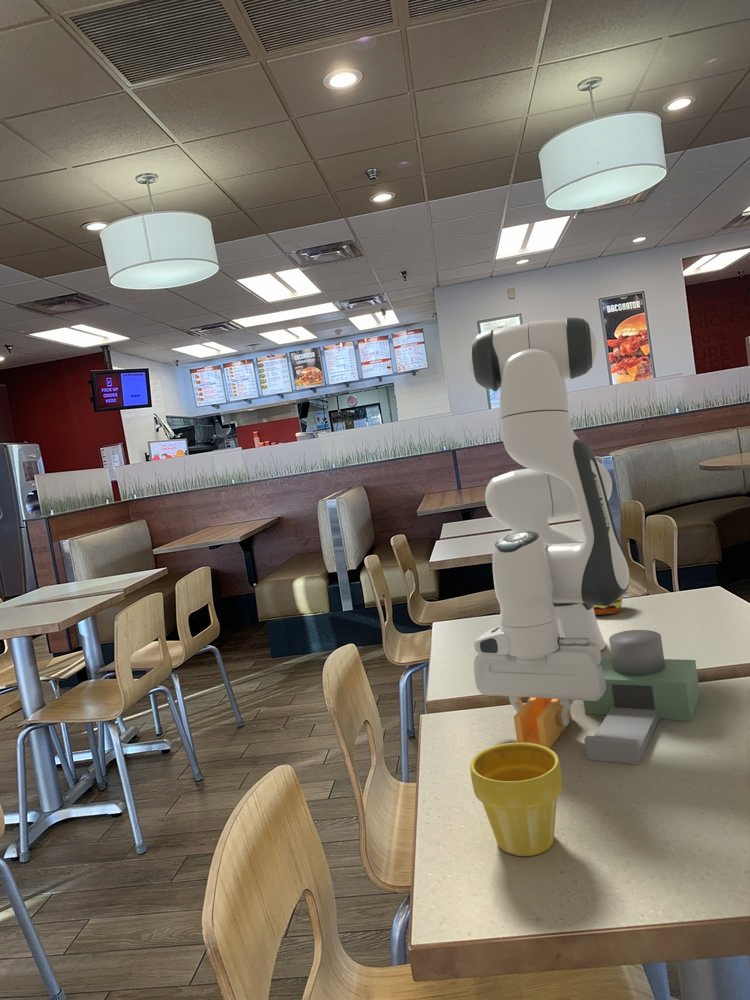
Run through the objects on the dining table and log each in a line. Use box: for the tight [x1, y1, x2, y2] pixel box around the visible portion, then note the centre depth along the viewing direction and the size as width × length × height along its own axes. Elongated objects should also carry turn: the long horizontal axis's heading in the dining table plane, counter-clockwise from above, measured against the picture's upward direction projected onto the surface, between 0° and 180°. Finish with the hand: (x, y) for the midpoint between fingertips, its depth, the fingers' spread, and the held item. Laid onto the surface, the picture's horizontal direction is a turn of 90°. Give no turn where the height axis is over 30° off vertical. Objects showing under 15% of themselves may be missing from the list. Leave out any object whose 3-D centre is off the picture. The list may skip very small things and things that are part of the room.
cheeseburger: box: [593, 592, 627, 616], centre depth 170 cm, size 10×11×10 cm
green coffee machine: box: [583, 629, 701, 766], centre depth 107 cm, size 16×25×11 cm, turn 147°
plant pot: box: [469, 742, 563, 857], centre depth 82 cm, size 10×10×10 cm
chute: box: [513, 697, 572, 749], centre depth 109 cm, size 5×12×5 cm, turn 147°
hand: (544, 722), depth 109 cm, fingers closed on chute, 5 cm apart
